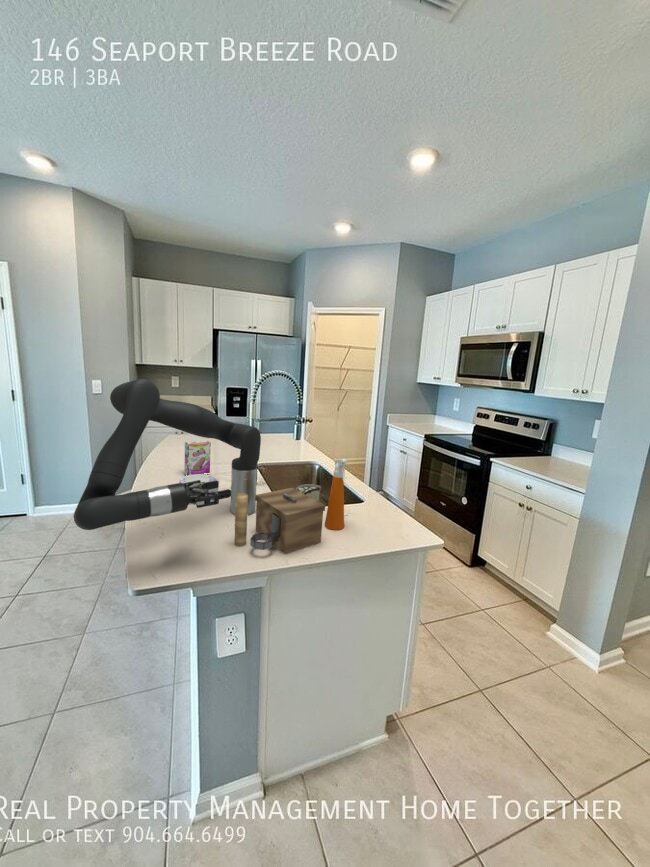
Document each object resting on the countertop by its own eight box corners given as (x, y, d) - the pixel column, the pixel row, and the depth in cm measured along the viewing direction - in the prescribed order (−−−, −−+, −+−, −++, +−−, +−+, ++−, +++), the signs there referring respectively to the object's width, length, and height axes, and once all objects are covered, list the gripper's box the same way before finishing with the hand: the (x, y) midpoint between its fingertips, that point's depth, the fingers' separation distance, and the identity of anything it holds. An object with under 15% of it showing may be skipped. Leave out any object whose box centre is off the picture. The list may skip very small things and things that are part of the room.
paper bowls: (226, 496, 149) (226, 478, 147) (198, 507, 135) (198, 488, 134) (200, 488, 155) (200, 471, 154) (170, 498, 142) (170, 479, 141)
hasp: (247, 542, 107) (247, 517, 106) (271, 535, 112) (272, 511, 111) (257, 551, 102) (258, 526, 101) (282, 544, 108) (283, 519, 106)
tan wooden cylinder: (232, 542, 111) (233, 494, 108) (242, 539, 114) (244, 492, 111) (237, 547, 109) (238, 498, 106) (248, 544, 111) (249, 496, 108)
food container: (308, 504, 146) (309, 481, 144) (319, 509, 142) (321, 485, 140) (287, 513, 136) (288, 488, 134) (298, 518, 133) (300, 492, 131)
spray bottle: (330, 536, 120) (336, 461, 115) (322, 522, 130) (327, 453, 126) (350, 534, 122) (356, 461, 117) (340, 521, 132) (346, 453, 128)
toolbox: (253, 530, 120) (255, 491, 118) (290, 520, 130) (292, 484, 127) (284, 555, 106) (286, 511, 104) (322, 542, 116) (325, 501, 113)
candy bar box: (187, 477, 168) (187, 444, 165) (184, 474, 172) (184, 441, 169) (210, 474, 175) (211, 442, 172) (206, 471, 179) (207, 440, 176)
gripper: (174, 495, 88) (235, 483, 98) (157, 478, 98) (214, 469, 109) (175, 523, 89) (234, 508, 100) (158, 503, 100) (214, 492, 110)
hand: (224, 488), depth 104 cm, fingers open, 8 cm apart
